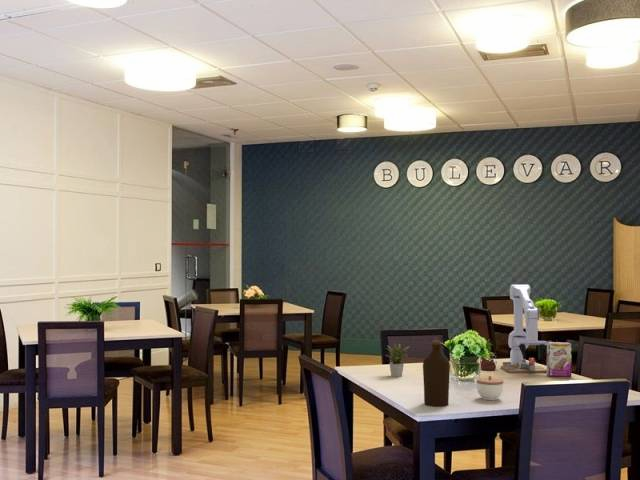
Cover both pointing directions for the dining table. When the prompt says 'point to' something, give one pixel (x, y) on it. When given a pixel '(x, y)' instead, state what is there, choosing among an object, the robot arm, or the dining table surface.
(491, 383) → the lidded jar
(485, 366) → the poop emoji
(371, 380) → the dining table surface
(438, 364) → the olive oil
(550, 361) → the candy bar box
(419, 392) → the dining table surface
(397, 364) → the house plant
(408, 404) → the dining table surface
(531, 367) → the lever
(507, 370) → the board
